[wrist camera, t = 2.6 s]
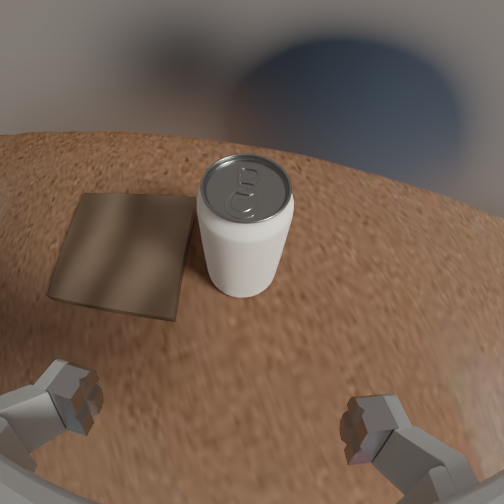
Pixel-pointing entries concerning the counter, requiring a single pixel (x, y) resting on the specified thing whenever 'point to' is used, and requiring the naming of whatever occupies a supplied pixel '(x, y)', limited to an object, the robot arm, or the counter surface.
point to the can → (244, 221)
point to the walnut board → (126, 254)
